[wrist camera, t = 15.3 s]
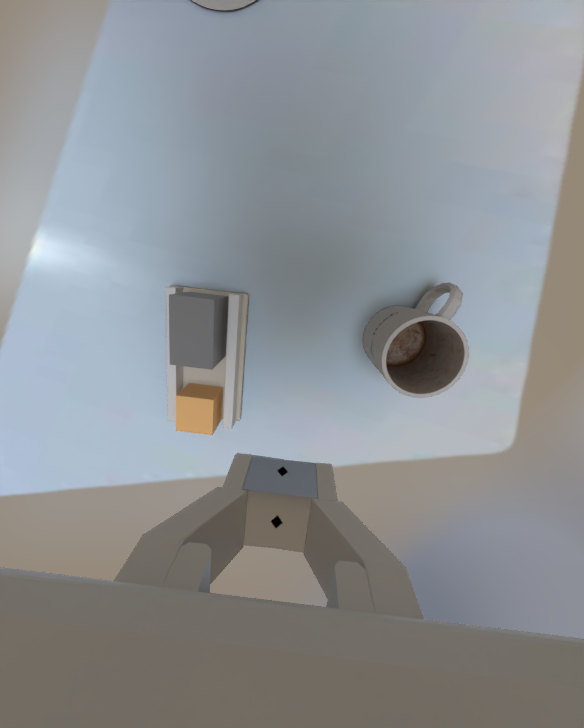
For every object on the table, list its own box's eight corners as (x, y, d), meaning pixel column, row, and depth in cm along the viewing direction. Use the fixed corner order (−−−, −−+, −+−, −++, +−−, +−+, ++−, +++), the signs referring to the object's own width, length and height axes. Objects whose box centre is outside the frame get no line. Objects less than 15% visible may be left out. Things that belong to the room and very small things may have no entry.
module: (189, 291, 37) (168, 294, 32) (228, 296, 37) (214, 299, 32) (189, 351, 40) (169, 364, 34) (225, 356, 40) (212, 369, 34)
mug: (394, 381, 41) (421, 413, 31) (349, 341, 39) (363, 362, 30) (464, 314, 38) (518, 327, 28) (418, 268, 36) (459, 265, 27)
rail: (173, 285, 38) (152, 286, 33) (249, 294, 38) (240, 297, 33) (174, 409, 43) (156, 428, 38) (240, 417, 43) (232, 437, 38)
